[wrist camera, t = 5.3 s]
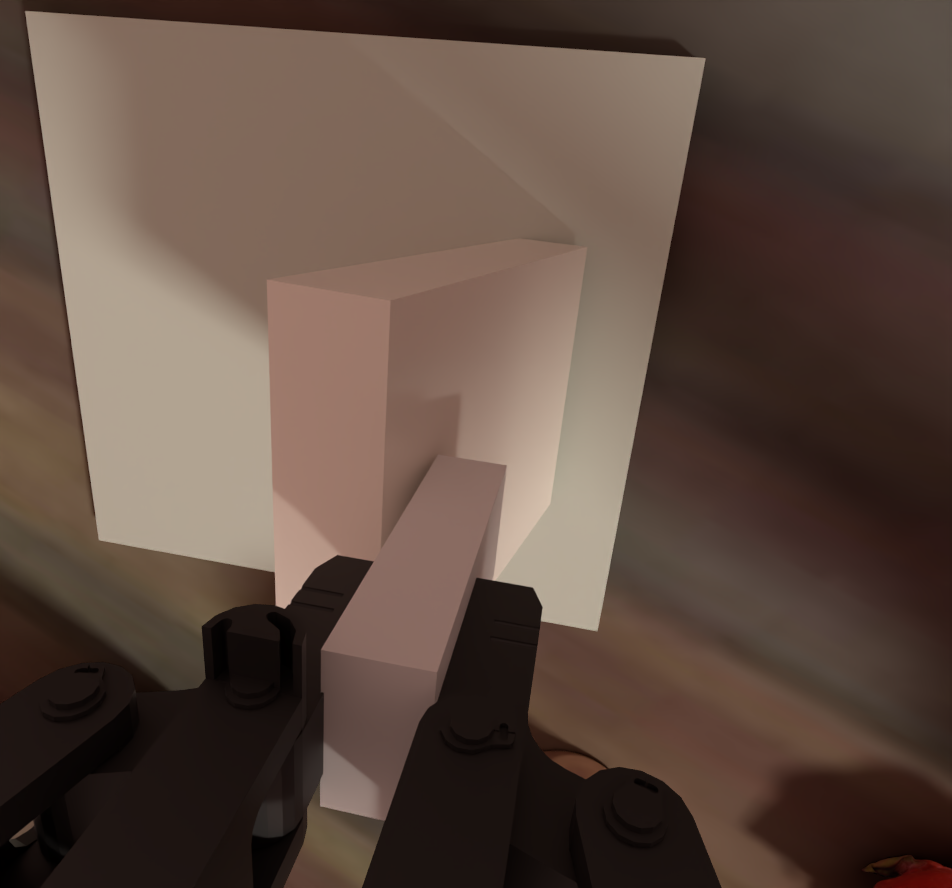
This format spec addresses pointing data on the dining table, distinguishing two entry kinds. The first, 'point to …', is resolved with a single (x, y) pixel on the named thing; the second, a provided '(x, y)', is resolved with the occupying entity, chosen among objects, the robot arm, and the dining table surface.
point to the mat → (338, 245)
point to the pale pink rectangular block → (414, 391)
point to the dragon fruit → (911, 873)
